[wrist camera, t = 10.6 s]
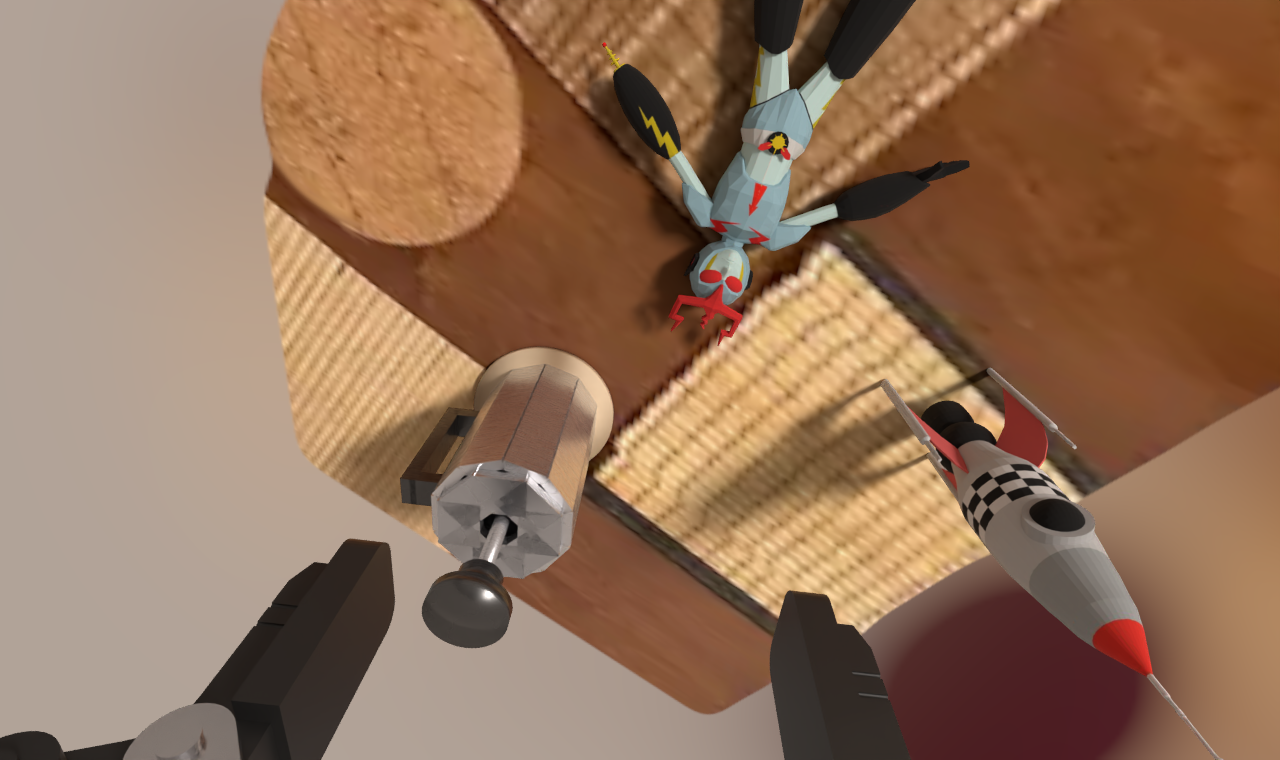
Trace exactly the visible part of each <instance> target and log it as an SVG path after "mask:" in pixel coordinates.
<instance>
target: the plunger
mask: <svg viewBox="0 0 1280 760" xmlns="http://www.w3.org/2000/svg"><path fill="white" fill-rule="evenodd" d="M510 521H511V519H510V518H509V517H508V516H507V515H500V514H496V517H495V519H494V522H493V524H492V526H491V529H490V531H489V534H488V536H487V539H486V541H485V544H484V546H483V549H482V551H481V554H480V556H479V559H472V560H468V561H466V562H464V563H463V564H462V565H461V566H460V568H459V571H455V572H450V573H447V574H445V575H443V576H441V577H439V578H438V579H437V580H436V581H435V582H434V583H433V584H432V586H431V588H430V590H429V592H428V594H427V596H426V598H425V600H424V603H423V606H422V616H423V619H424V622H425V624H426V625H427V627H428V628H429V630H430V631H431V632H432V633H433V634H434V635H436V636H437V637H438V638H440V639H442V640H443V641H445V642H447V643H449V644H452V645H455V646H459V647H464V648H480V647H485V646H488V645H491V644H493V643H495V642H497V641H498V640H499V639H500V638H501V637H503V635H504V634H505V632H506V630H507V627H508V624H509V620H510V617H511V613H512V608H513V607H512V600H511V598H510V595H509V594H508V592H507V591H506V589H505V588H504V587H503V586H502V583H503V574H502V572H501V570H500V569H499V568H498V567H497V566H496V565H495V562H496V559H497V556H498V554H499V551H500V548H501V545H502V543H503V540H504V537H505V534H506V532H507V529H508V526H509V523H510Z"/></svg>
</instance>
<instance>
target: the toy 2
mask: <svg viewBox="0 0 1280 760" xmlns="http://www.w3.org/2000/svg"><path fill="white" fill-rule="evenodd" d="M987 373H988V374H989V375H990V376H991V377H992V378H993V379H994V380H995V381H997V382H998V383H999V384H1000V385H1001V386H1002V387H1003V395H1004V404H1005V426H1004V428H1003V431H1002V433H1001V435H1000V437H999V439H998V441H996V439H995V438H994V436H993V435H992V433H991V432H990V431H989V430H987V429H986V428H985V427H983V426H981V425H979V424H976V423H974V420H973V419H972V417H971V416H970V414H969V413H968V412H967V411H966V410H965V409H964V407H963V406H961V405H960V404H959V403H957V402H954V401H941V402H938V403H935V404H933V405H932V406H930V407H929V408H928V409H927V410H926V411H925V412H924V414H923V415H922V418H921V419H920V418H919V417H918V416H917V415H916V414H915V413H914V412H913V411H912V410H911V409H910V408H909V407H908V406H907V405H906V404H905V403H904V401H903V400H902V399H901V397H900V396H899V395H898V393H897V392H896V390H895V389H894V388H893V386H892V385H891V384H890V382H889V381H888V380H887V379H885V380H883V381H882V382H881V387H882V388H883V390H884V391H885V393H886V394H887V396H888V397H889V398H890V400H891V401H892V403H893V404H894V406H895V407H896V408H897V410H898V411H899V413H900V414H901V416H902V417H903V418H904V420H905V421H906V423H907V424H908V426H909V427H910V428H911V430H912V431H913V433H914V434H915V436H916V437H917V438H918V440H919V441H920V443H921V444H922V445H924V444H925V445H926V446H927V447H928V449H929V450H930V453H928V454H927V455H926V456H927V457H928V459H929V460H930V462H931V463H932V465H933V466H934V468H935V469H936V470H937V472H938V473H939V475H940V476H941V478H942V479H943V481H944V482H945V483H946V485H947V486H948V488H949V489H950V491H951V492H952V494H953V495H954V497H955V498H956V499H957V501H958V502H959V505H960V508H961V510H962V513H963V515H964V517H965V519H966V521H967V522H968V523H969V525H970V526H971V527H972V529H973V530H974V531H975V533H976V534H977V535H978V537H979V538H980V539H981V541H982V542H983V544H984V545H985V546H986V548H987V549H988V550H989V552H990V553H991V554H992V556H993V557H994V558H995V559H996V560H997V562H998V563H999V564H1000V565H1001V566H1002V567H1003V568H1004V570H1006V572H1007V573H1008V574H1009V575H1010V576H1011V577H1012V578H1013V579H1015V581H1017V582H1018V583H1019V584H1020V585H1021V586H1022V587H1023V588H1024V589H1025V590H1027V591H1028V592H1029V593H1030V594H1031V595H1032V596H1033V597H1034V598H1035V599H1036V600H1037V601H1038V602H1040V603H1041V604H1042V605H1043V606H1044V607H1045V608H1046V609H1047V610H1048V611H1049V612H1050V613H1052V614H1053V615H1054V616H1055V617H1056V618H1058V619H1059V620H1060V621H1061V622H1062V623H1063V624H1064V625H1066V626H1067V627H1068V628H1069V629H1070V630H1071V631H1072V632H1073V633H1074V634H1076V635H1077V636H1078V637H1079V638H1080V639H1082V640H1084V641H1085V642H1087V643H1088V644H1090V645H1091V646H1093V647H1094V648H1096V649H1097V650H1099V651H1101V652H1102V653H1104V654H1106V655H1108V656H1110V657H1112V658H1113V659H1115V660H1117V661H1119V662H1121V663H1122V664H1124V665H1126V666H1128V667H1130V668H1132V669H1133V670H1135V671H1137V672H1139V673H1140V674H1142V675H1144V676H1146V677H1148V679H1149V680H1150V681H1151V682H1152V684H1153V685H1154V686H1155V687H1156V689H1157V690H1158V691H1159V692H1160V694H1161V695H1162V696H1163V697H1164V698H1165V699H1167V701H1168V702H1169V703H1170V704H1171V705H1172V707H1173V708H1174V709H1175V712H1176V713H1178V715H1179V716H1180V717H1181V719H1183V720H1184V721H1185V723H1186V724H1187V725H1188V726H1189V728H1190V729H1191V730H1192V731H1193V732H1194V734H1195V735H1196V736H1197V737H1198V739H1199V740H1200V741H1201V742H1202V744H1203V745H1204V746H1205V747H1206V748H1207V750H1208V751H1209V752H1210V754H1211V755H1212V756H1213V757H1214V758H1215V760H1223V759H1222V758H1219V757H1218V756H1217V755H1216V754H1215V752H1214V751H1213V750H1212V749H1211V747H1210V746H1209V745H1208V744H1207V742H1206V741H1205V740H1204V739H1203V737H1201V735H1200V734H1199V733H1198V731H1197V730H1196V729H1195V728H1194V726H1193V725H1192V724H1191V723H1190V721H1189V720H1188V719H1187V718H1186V716H1185V715H1184V713H1183V712H1181V709H1179V708H1178V707H1177V705H1176V704H1175V703H1174V702H1173V701H1172V699H1171V698H1170V695H1169V694H1168V693H1167V692H1166V690H1165V689H1164V688H1163V687H1162V685H1161V684H1160V683H1159V682H1158V680H1157V679H1156V678H1155V677H1154V676H1153V673H1152V668H1151V663H1150V658H1149V653H1148V648H1147V643H1146V638H1145V633H1144V629H1143V625H1142V622H1141V619H1140V616H1139V613H1138V610H1137V608H1136V606H1135V605H1134V602H1133V601H1132V599H1131V597H1130V595H1129V593H1128V592H1127V590H1126V588H1125V586H1124V584H1123V582H1122V580H1121V578H1120V576H1119V574H1118V573H1117V571H1116V569H1115V568H1114V566H1113V564H1112V563H1111V561H1110V559H1109V557H1108V555H1107V553H1106V552H1105V550H1104V548H1103V546H1102V545H1101V543H1100V541H1099V539H1098V538H1097V536H1096V534H1095V533H1094V528H1095V520H1094V517H1093V516H1092V515H1091V513H1090V512H1089V511H1088V510H1086V509H1085V508H1083V507H1082V506H1080V505H1078V504H1076V503H1074V502H1071V501H1070V500H1069V499H1068V498H1067V496H1066V495H1065V494H1064V493H1063V492H1062V491H1061V490H1060V489H1059V487H1058V486H1057V485H1056V484H1055V483H1054V482H1053V481H1052V480H1051V478H1050V477H1049V476H1048V475H1047V474H1046V473H1045V472H1044V471H1042V470H1041V469H1040V468H1039V467H1040V466H1041V465H1042V463H1043V462H1044V460H1045V459H1046V453H1047V447H1048V442H1047V437H1046V432H1045V429H1044V426H1043V424H1044V425H1045V426H1046V427H1047V428H1048V429H1049V430H1050V431H1052V432H1056V433H1057V434H1058V435H1059V436H1060V437H1061V438H1063V439H1064V440H1065V441H1066V442H1067V443H1068V444H1069V445H1070V446H1072V447H1073V448H1074V449H1076V448H1077V447H1076V446H1075V445H1074V444H1073V443H1072V442H1071V441H1070V440H1069V439H1068V438H1067V437H1065V436H1064V435H1063V434H1062V433H1061V432H1060V431H1059V430H1058V429H1057V426H1056V425H1055V424H1054V423H1053V422H1052V421H1051V420H1050V419H1049V418H1048V417H1046V416H1045V415H1044V414H1043V413H1042V412H1041V411H1040V410H1038V409H1037V408H1036V407H1035V406H1034V405H1033V404H1032V403H1031V402H1029V401H1028V400H1027V399H1026V398H1025V397H1024V396H1023V395H1021V394H1020V393H1019V392H1018V391H1017V390H1016V389H1015V388H1014V387H1012V386H1011V385H1010V384H1009V383H1008V382H1007V381H1006V380H1004V379H1003V378H1002V377H1001V376H1000V375H999V374H998V373H997V372H995V371H994V370H993V369H992V368H988V369H987ZM1042 423H1043V424H1042ZM929 441H930V442H931V443H932V444H933V445H934V446H935V447H936V450H935V449H934V447H933V446H932V444H931V443H930V442H929Z"/></svg>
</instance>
